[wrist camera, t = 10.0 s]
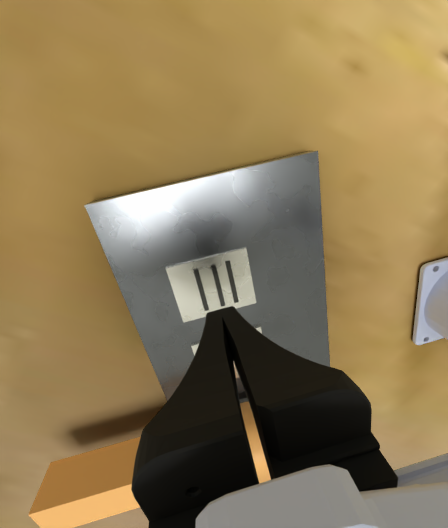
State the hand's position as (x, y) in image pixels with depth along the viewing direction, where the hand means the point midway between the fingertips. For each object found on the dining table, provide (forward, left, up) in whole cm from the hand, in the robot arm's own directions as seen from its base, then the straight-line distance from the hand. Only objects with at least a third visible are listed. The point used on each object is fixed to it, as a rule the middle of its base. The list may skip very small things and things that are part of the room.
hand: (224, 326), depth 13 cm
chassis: (-1, +3, -6) cm, 7 cm away
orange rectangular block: (+6, +11, -3) cm, 14 cm away
